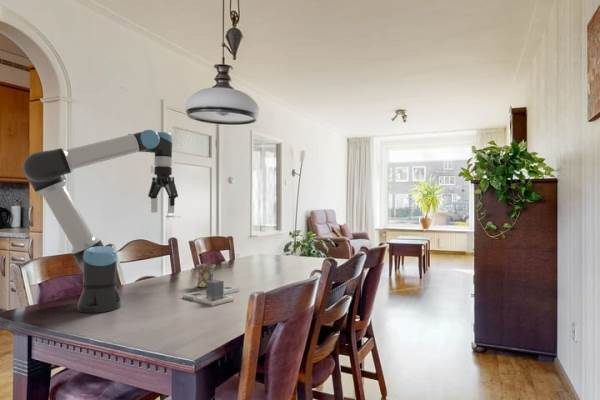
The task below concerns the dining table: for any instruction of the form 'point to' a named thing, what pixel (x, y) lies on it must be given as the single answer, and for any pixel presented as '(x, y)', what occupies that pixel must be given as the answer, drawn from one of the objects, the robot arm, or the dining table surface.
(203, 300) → the tray
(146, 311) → the dining table surface
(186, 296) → the rail
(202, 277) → the mug
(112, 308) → the robot arm
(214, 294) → the dark grey block
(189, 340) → the dining table surface
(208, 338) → the dining table surface
